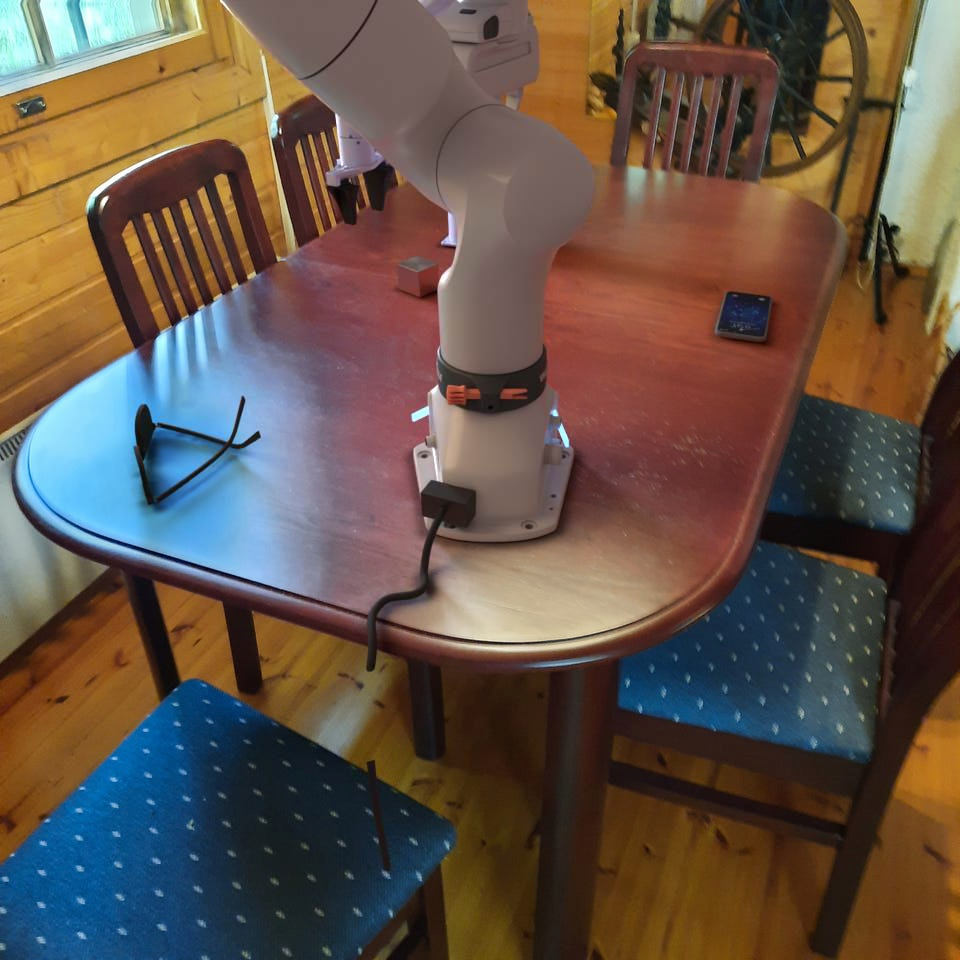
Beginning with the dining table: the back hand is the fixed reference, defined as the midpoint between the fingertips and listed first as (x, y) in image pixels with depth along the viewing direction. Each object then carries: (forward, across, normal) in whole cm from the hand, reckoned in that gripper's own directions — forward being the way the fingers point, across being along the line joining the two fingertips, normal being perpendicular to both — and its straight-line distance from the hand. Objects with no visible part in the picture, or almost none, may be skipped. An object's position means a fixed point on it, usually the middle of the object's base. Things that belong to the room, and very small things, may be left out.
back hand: (364, 216), depth 146 cm
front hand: (-20, +9, +31) cm, 38 cm away
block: (+7, +7, +15) cm, 18 cm away
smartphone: (+7, -7, +65) cm, 66 cm away
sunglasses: (+7, +59, +20) cm, 63 cm away
